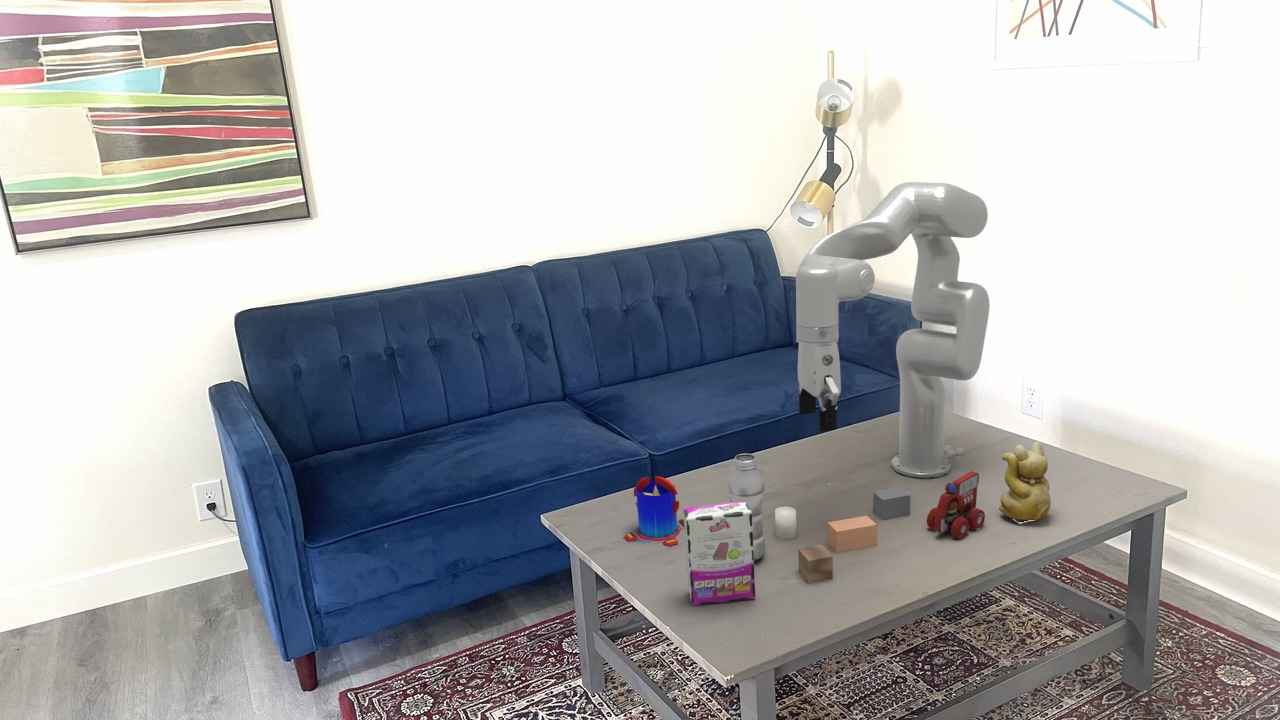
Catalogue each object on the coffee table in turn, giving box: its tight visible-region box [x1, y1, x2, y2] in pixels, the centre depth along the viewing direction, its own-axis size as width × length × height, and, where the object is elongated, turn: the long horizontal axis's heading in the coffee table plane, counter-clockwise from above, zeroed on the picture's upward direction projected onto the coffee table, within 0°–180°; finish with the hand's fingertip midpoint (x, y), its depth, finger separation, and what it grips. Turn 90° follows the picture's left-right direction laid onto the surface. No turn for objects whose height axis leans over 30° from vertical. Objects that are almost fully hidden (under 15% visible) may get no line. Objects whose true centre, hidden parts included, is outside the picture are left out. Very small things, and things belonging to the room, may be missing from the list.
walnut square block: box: [797, 544, 834, 584], centre depth 162 cm, size 4×4×4 cm
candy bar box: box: [682, 501, 756, 607], centre depth 156 cm, size 11×5×16 cm, turn 96°
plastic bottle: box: [727, 453, 767, 562], centre depth 168 cm, size 6×7×20 cm
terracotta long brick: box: [827, 515, 878, 554], centre depth 172 cm, size 8×4×4 cm, turn 104°
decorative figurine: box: [998, 441, 1052, 522], centre depth 177 cm, size 10×8×15 cm
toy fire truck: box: [926, 471, 986, 540], centre depth 175 cm, size 7×12×10 cm, turn 128°
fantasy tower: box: [622, 476, 685, 548], centre depth 181 cm, size 12×12×12 cm
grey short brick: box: [872, 487, 911, 521], centre depth 183 cm, size 6×4×4 cm, turn 104°
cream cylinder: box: [774, 506, 797, 540], centre depth 178 cm, size 4×4×5 cm
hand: (817, 421), depth 172 cm, fingers open, 9 cm apart
